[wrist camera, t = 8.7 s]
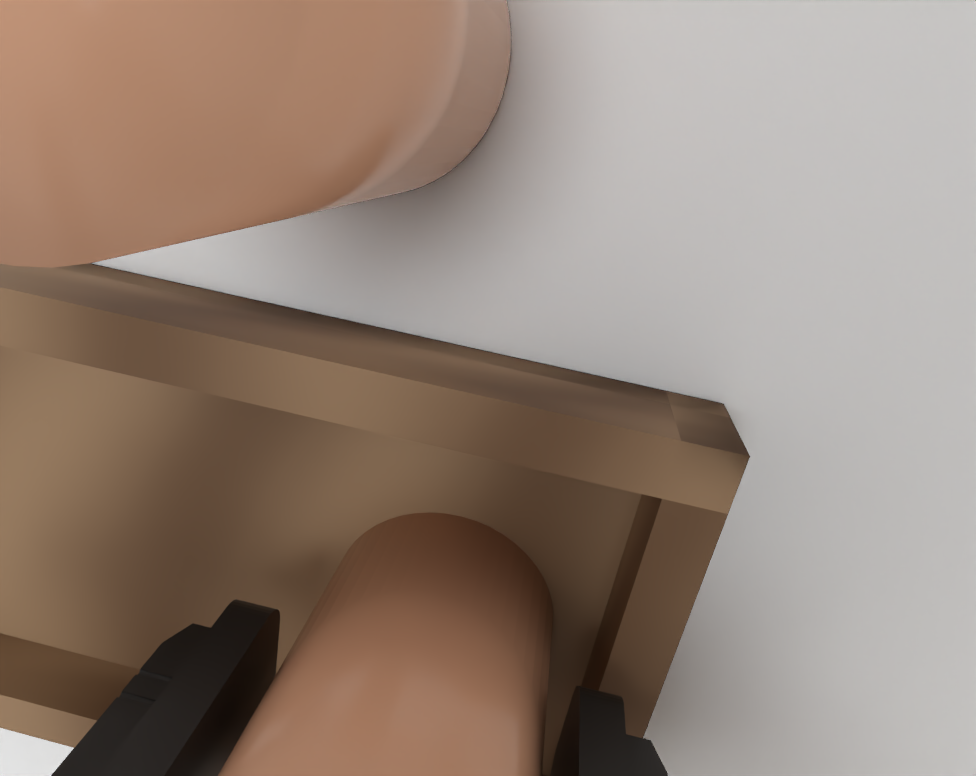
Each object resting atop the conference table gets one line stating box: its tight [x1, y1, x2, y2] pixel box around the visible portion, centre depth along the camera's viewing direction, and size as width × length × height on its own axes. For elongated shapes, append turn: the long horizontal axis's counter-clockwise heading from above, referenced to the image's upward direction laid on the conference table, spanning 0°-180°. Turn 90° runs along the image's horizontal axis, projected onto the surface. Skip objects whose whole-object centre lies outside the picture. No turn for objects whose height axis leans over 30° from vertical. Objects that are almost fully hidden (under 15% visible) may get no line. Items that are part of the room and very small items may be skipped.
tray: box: [0, 263, 750, 776], centre depth 13 cm, size 18×10×2 cm, turn 79°
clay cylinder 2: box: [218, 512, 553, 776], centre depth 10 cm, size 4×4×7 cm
